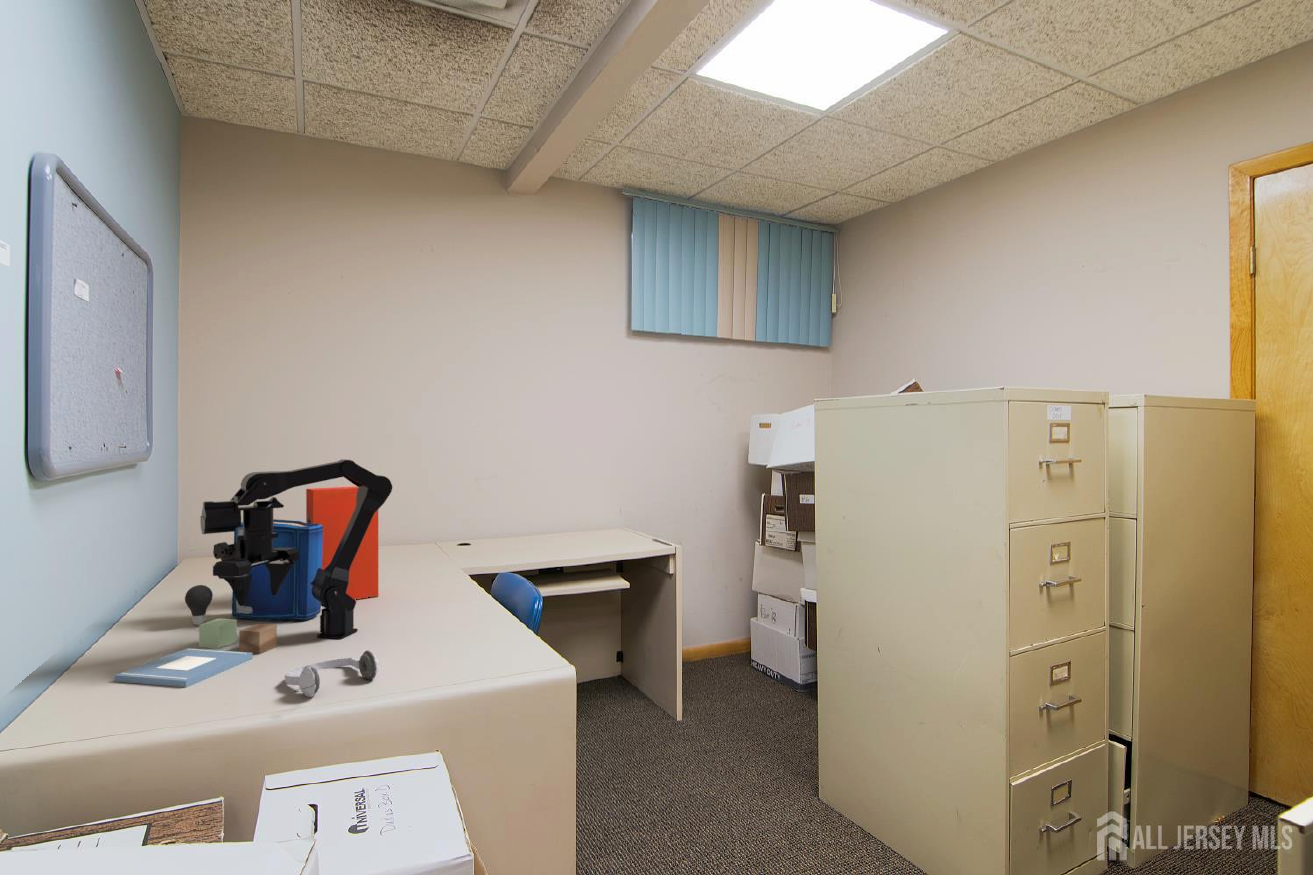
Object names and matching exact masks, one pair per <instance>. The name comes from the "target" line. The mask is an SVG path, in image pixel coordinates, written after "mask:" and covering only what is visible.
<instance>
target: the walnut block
mask: <svg viewBox="0 0 1313 875" xmlns="http://www.w3.org/2000/svg"><path fill="white" fill-rule="evenodd" d="M277 627H278V626H277V624H266V623H255V624H253V625H250V626H248V627H247V626H246V627H245V628H241V629H239V631H238V635H239V636H238V637H239V638H238V643H239V644H238V646H239V647H238V649H239V650H238V652H249V653H253V655H262V654H264V653H267V652H269V651H271V650H273V649H275V648H277V646H278V645H277V644H278V641H277V640H278V637H277V636H278V634H277V632H278V630H277V629H278V628H277Z"/></svg>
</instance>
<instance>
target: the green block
mask: <svg viewBox="0 0 1313 875" xmlns="http://www.w3.org/2000/svg"><path fill="white" fill-rule="evenodd" d="M237 628H238V620H237V619H235V618H232V619H230V618H215V619H212V620H209V621H206V622H204V623H203V624H200V625H199V626H198V643H199V644H198V647H199V648H212V649H219V648H220V649H221V648H222V647H225V646H228V645H230V644H232V643H236V642H237V641H238V629H237Z"/></svg>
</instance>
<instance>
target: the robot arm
mask: <svg viewBox="0 0 1313 875" xmlns="http://www.w3.org/2000/svg"><path fill="white" fill-rule="evenodd" d="M339 478H345V479H346V480H347V481H348V482H350V483H351V484H352V485H354V486H355V487H356V486H357V487H359V488H358V492H357V497H356V508H355V510H354V512H353V515H352V517H351V519H350V521H349V523H348V526H347V528H346V530H345V532H344V534H343V537H342V539H341V541H340V543H339V545H338V548H337V550H336V552H335V554H334V556H333V559H332V561H331V563H330V564H329V565H328V566H327V567H326V568H325V569H324V570H323V569H321V568H318V570H317V573H316V576H315V578H314V580H313V581H312V582H311V585H313V586H312V595H313V597H314V598H315V599H316V600H318V601H319V602H320V603H321V607H323V608H321V614H320V615H319V632H320V633H318V634H317V635H316V637H317V638H322V639H323V638H325V639H337V640H338V639H340V640H341V639H343V638H345V637H347V636H350V635H352V634H355V633H356V632H358V630H359V629H358V628H355V627H354V625H355V624H354V620H355V619H354V612H355V608H356V605H357V600H354V599H353V598H351V597H350V596H349V595H348V594H346V591H347V588H348V584H349V571H350V567H351V565H352V563H353V560H354V558H355V556H356V554H357V551H358V549H359V547H360V545H361V542H362V540H363V538H364V536H365V533H366V531H367V529H368V527H369V524H370V522H371V520H372V518H373V516H374V514H375V512H376V511H377V510H378V511H379V510H380V508H381V507H382V506H383V505H384V503H385V502H386V501H387V499H388V498H389V496H390V495H391V494H392V491H393V484H392V481H391V480H390V479H389V478H388V477H387V476H384V475H379V474H375V473H374V472H371V471H370V470H368V469H366V468H364V467H363V466H360V465H359V464H357V463H356V462H355V461H353V460H352V459H346V458H345V459H342V458H341V459H339V460H337V461H334V462H333V461H332V462H327V463H323V464H318V465H313V466H306V467H301V468H298V469H297V468H296V469H291V470H285V471H283V470H282V471H274V470H273V471H252V472H249V473H247V474H246V475H245V476H244V477H243V478H242V480H241V482H240V488H239V489H238V490H237V491H236V493H235V494H234V495H233V496H232V497H231V499H230V500H223V501H222V500H221V501H212V500H209V501H207V500H205V501H203V502H202V510H201V515H200V518H199V519H200V520H199V522H200V523H199V524H200V531H201V535H210V534H219V533H232V532H233V533H234V531H235V528H238V527H239V526H240V525H241V522H242V521H243V535H238V537H237V543H234V542H233V543H231V544H228V543H227V542H226V541H223V542H219V543H215V544H214V545H213V551H212V552H213V553H212V554H213V557H214V559H215V560H219V559H220V561H216V562H215V563H214V564H213V565H212V576H213V577H218V579H219V580H220V579H222V580H224V581H225V582H227V583H228V585H229V586H230V588H231V589H232V592H234V595H235V597H236V599H237V602H238V604H239V606H244V605H245V603H246V600H247V596H248V592H249V587H250V583H251V578H252V574H249V572H250V571H251V567H255V566H258V565H262V564H265V566H266V567H267V568H268V570H269V572H270V587H271V594H272V595H277V593H278V592H279V590H280V588H281V586H282V584H283V582H284V580H285V578H286V576H287V574H288V573H289V571H290V569H291V568H292V566H293V565H295V562H293V561H296V560H299V551H298V550H297V549H296V548H286V547H278V548H274V549H273V538H277V537H278V533H273V519H274V509H281V508H284V506H285V505H284V504H283V503H282V502H280V500H278V499H277V497H276V496H277V495H279V494H281V493H283V492H286V491H287V490H289V489H293V488H297V487H301V486H306V485H311V484H315V483H320V482H324V481H326V482H327V481H329V480H330V481H331V480H334V479H339ZM274 496H275V497H274ZM265 499H268V500H265ZM251 504H252V505H251ZM242 559H244V560H242ZM253 562H254V563H253Z"/></svg>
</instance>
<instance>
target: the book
mask: <svg viewBox="0 0 1313 875" xmlns="http://www.w3.org/2000/svg"><path fill="white" fill-rule="evenodd" d="M273 533H278V537H277V538H273V549H274V548H278V547H286V548H296V549H297V550H298V551H299V560H296V561H293V562H295V565H293V566H292V568H291V569H290V571H289V573H288V574H287V576H286V578H285V580H284V582H283V584H282V586H281V588H280V590H279V592H278V593H277V595H272V594H271V587H270V572H269V570H268V568H267V567H266V566H265V564H262V565H258V566H255V567H251V571H250V572H249V574H252V578H251V583H250V587H249V592H248V596H247V600H246V603H245V605H244V606H239V604H238V602H237V599H236V597H235V595H234V592H233V591H232V595H231V596H232V597H231V598H232V600H231V602H232V603H231V617H232V618H239V619H246V620H248V619H249V620H254V621H255V620H256V621H273V622H275V621H277V622H284V621H290V620H298V621H306V620H310V619H314V618H315V617H317V615H319V614H320V613H322V605H321V603H320V602H319V601H318V600H316V599H315V598H314V597H313V595H312V586H313V585H311V582H312V581H313V580H314V578H315V576H316V573H317V570H318V568H321V569H322V550H323V526H322V525H320V524H307V523H306V522H303V521H300V520H290V519H289V520H288V519H276V518H275V519H274V518H273ZM238 535H243V520H241V525H240V526H239V527H238V528H235V531H234V532H233V544H234V543H237V537H238ZM242 560H244V559H242ZM253 563H254V562H253Z"/></svg>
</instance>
